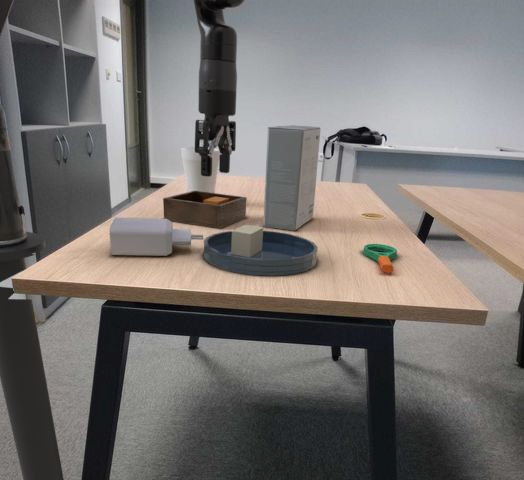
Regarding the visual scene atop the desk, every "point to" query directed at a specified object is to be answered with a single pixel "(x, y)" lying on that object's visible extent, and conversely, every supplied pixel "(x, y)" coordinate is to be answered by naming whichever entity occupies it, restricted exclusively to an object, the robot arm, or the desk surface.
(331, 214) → the desk surface
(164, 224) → the charger
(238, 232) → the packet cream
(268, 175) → the hard drive box
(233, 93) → the robot arm
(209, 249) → the dark blue round tray
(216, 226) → the holder
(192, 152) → the foam cup
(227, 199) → the orange block
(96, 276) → the desk surface
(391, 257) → the magnifying glass
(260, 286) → the desk surface
